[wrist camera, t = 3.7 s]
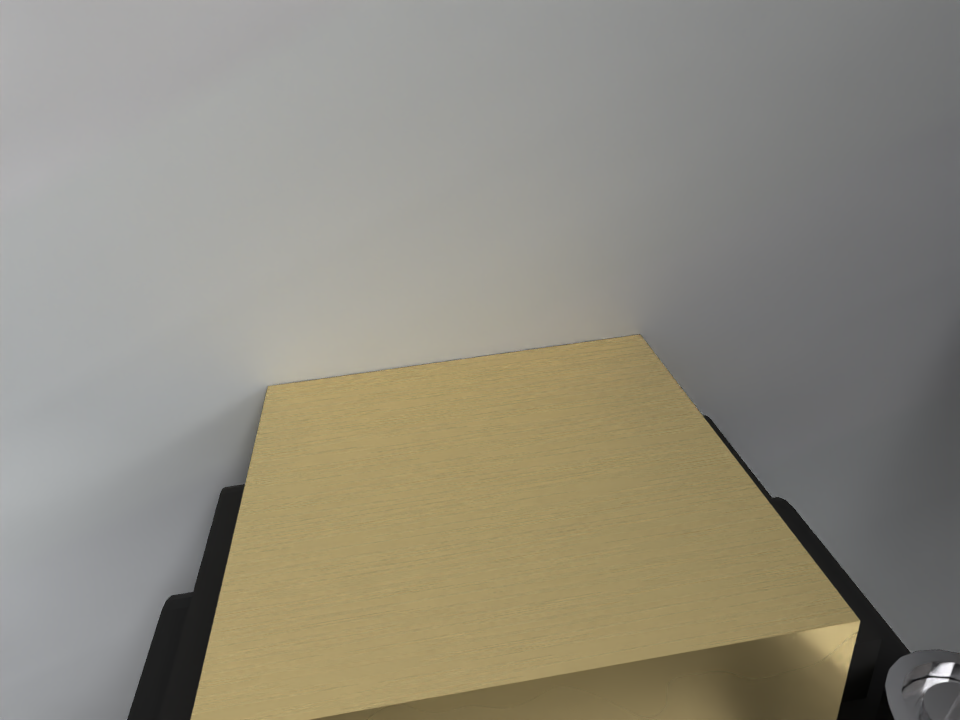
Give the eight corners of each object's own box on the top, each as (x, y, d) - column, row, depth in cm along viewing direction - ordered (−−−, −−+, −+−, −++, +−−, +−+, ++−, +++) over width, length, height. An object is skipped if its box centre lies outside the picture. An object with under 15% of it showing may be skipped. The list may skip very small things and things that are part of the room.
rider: (267, 386, 9) (184, 742, 5) (639, 334, 10) (860, 620, 5) (335, 648, 12) (319, 1045, 7) (632, 598, 12) (782, 944, 8)
